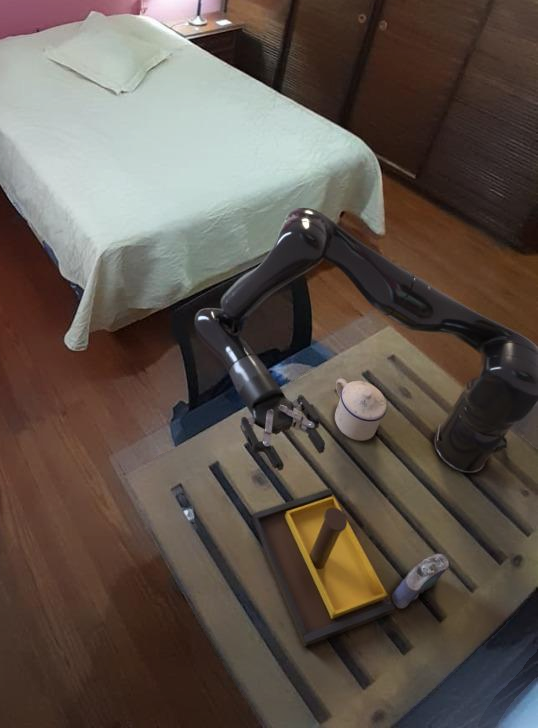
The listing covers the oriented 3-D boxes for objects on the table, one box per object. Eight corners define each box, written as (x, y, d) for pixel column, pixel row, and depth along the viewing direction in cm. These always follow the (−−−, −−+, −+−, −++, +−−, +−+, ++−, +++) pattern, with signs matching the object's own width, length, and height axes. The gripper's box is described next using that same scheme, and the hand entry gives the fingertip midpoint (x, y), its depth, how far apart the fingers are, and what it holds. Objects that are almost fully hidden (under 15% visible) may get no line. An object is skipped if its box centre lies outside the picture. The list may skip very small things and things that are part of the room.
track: (328, 493, 107) (330, 488, 106) (392, 613, 92) (395, 608, 90) (251, 519, 104) (252, 513, 103) (304, 646, 89) (306, 642, 87)
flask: (399, 612, 92) (417, 590, 85) (385, 594, 94) (402, 571, 88) (437, 583, 95) (457, 559, 89) (423, 566, 97) (442, 541, 91)
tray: (331, 501, 105) (350, 455, 94) (384, 599, 92) (413, 559, 82) (284, 516, 103) (298, 471, 92) (331, 619, 90) (354, 581, 80)
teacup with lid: (386, 433, 117) (400, 402, 110) (352, 449, 114) (364, 419, 107) (349, 387, 126) (360, 356, 119) (316, 401, 123) (325, 370, 116)
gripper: (225, 385, 105) (270, 463, 93) (288, 361, 109) (339, 434, 96) (222, 406, 109) (265, 484, 97) (283, 383, 113) (332, 455, 101)
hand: (302, 459), depth 97 cm, fingers open, 8 cm apart
